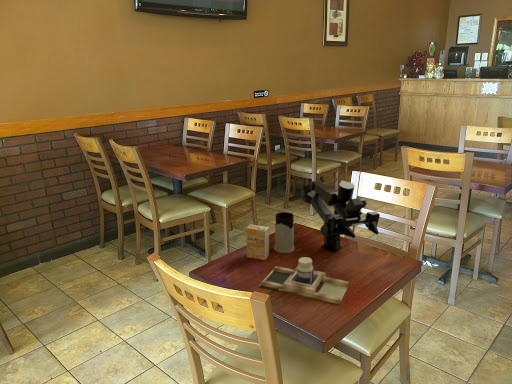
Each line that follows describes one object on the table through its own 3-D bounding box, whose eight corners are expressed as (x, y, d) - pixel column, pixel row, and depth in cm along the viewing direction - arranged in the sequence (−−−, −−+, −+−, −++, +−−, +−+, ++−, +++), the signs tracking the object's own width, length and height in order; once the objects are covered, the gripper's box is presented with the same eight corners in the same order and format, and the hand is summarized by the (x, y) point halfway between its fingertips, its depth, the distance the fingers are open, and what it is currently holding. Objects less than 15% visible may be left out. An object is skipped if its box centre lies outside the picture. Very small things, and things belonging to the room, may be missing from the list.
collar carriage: (287, 287, 138) (288, 280, 137) (297, 275, 145) (297, 269, 145) (313, 293, 134) (313, 286, 133) (321, 280, 141) (321, 274, 141)
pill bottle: (303, 279, 144) (304, 254, 141) (316, 285, 140) (317, 259, 137) (293, 285, 140) (293, 260, 137) (306, 291, 136) (306, 265, 133)
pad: (316, 296, 133) (316, 295, 133) (324, 282, 141) (324, 282, 141) (340, 301, 130) (340, 301, 130) (347, 287, 138) (347, 287, 138)
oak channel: (261, 285, 140) (260, 277, 139) (275, 269, 151) (275, 262, 150) (339, 304, 128) (339, 296, 127) (348, 285, 139) (349, 277, 138)
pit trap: (259, 286, 140) (259, 285, 140) (275, 268, 152) (275, 267, 152) (279, 291, 136) (279, 289, 136) (294, 272, 148) (294, 271, 148)
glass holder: (270, 250, 167) (270, 217, 162) (282, 238, 179) (282, 206, 174) (290, 254, 163) (291, 220, 159) (301, 241, 176) (302, 209, 171)
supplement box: (246, 257, 161) (245, 227, 157) (250, 252, 165) (250, 223, 161) (265, 261, 158) (265, 230, 154) (269, 256, 162) (269, 226, 158)
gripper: (326, 195, 147) (346, 219, 134) (371, 191, 152) (394, 213, 139) (322, 220, 152) (341, 245, 140) (365, 215, 157) (387, 238, 145)
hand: (366, 235), depth 141 cm, fingers open, 9 cm apart
